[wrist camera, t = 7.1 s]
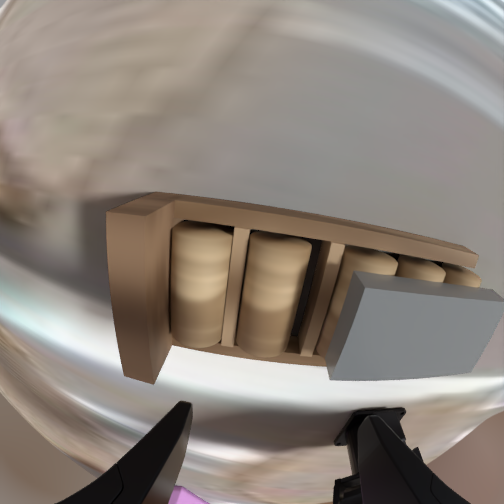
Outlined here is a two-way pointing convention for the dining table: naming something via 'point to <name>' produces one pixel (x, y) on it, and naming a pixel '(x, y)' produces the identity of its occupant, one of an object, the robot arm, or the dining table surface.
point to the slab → (410, 328)
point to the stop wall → (141, 281)
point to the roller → (271, 292)
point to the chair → (184, 497)
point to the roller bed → (324, 281)
